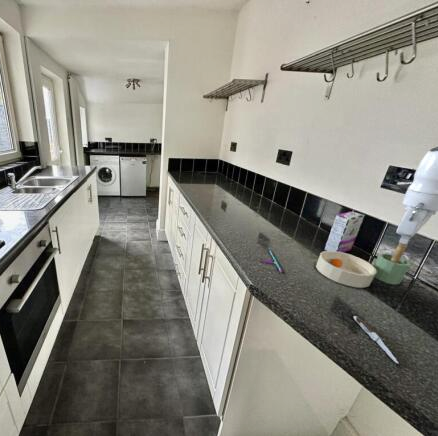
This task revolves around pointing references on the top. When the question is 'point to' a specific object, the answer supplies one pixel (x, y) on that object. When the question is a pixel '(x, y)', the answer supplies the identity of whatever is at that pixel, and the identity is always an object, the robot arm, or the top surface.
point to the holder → (390, 269)
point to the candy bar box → (344, 232)
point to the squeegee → (274, 262)
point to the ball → (336, 262)
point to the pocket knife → (374, 336)
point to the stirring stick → (398, 252)
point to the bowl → (346, 269)
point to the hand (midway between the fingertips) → (404, 241)
